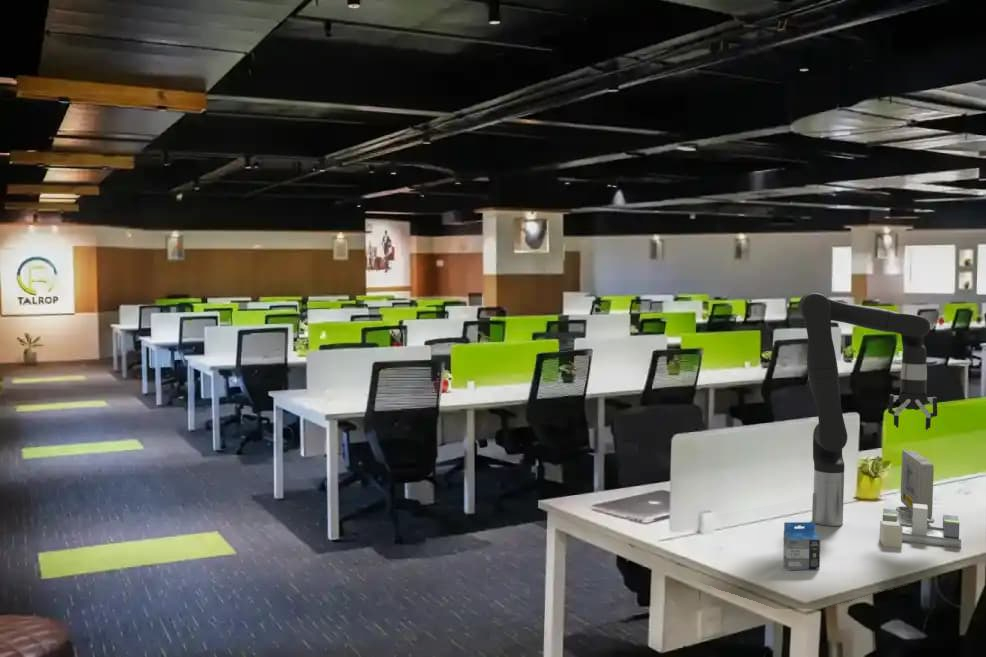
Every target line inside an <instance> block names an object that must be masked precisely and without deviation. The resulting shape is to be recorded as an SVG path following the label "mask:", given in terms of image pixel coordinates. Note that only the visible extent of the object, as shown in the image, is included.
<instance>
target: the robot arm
mask: <svg viewBox="0 0 986 657" xmlns="http://www.w3.org/2000/svg"><path fill="white" fill-rule="evenodd" d="M797 310H798V312H799V314H800V316H801V318H803V319H804V323H805V328H806V332H807V350H806V368H807V377H808V378H807V379H808V383H809V386H810V390H811V393H812V396H813V401H814V402H815V405H816V408H817V416H818V418H817V419H818V423H817V424H816V425H815V427H814V429H813V434H812V459H813V460H812V461H813V468H814V470H813V493H812V505H811V508H812V511H811V522H815V524H816V525H821V526H828V527H838V526H843V524H844V499H845V498H844V496H845V495H844V494H845V493H844V492H845V461H844V458H843V449H844V448H845V446H846V445H847V442H848V432H847V427H846V424H845V419H844V415H843V411H842V410H843V409H842V405H841V404H842V402H841V400H842V399H841V389H840V375H839V369H838V368H839V367H838V363H837V362H838V360H837V357H836V350H835V345H834V341H833V333H832V322H839V323H846V324H848V325H854V326H857V327H861V328H864V329H870V330H875V331H879V332H886V333H895V334H899V335H901V338H900V339H901V344H902V356H901V357H902V358H901V361H902V362H901V369H900V388H899V390H900V392H899V395H894V394H892V393H891V394H889V399H888V406H887V407H888V410H887V412H888V414H890V415H893V426H895V428H896V429H897V428H899V424H900V423H899V422H900V421H899V420H900V418H899V417H900V416H899V414H901V413H902V411H903V410H905V409H906V410H915V411H919V410H920V411H922V413H923V414H924V415H925V425H924V426H925V428H924V429H925V430H927V431H928V430H929V429H930V428H931V426H932V425H931V419H932V418H934V417H935V418H936V417H938V399H937V398H938V397H936V396H932V397H930V396H929V397H928V396H927V380H928V369H927V368H928V367H927V352H928V351H927V348H926V346H925V341H924V340H925V336H927V335H928V333H929V332H930V331H931V324H930V321H929V320H928V318H926V317H924V316H923V315H916V314H911V313H905V312H904V313H902V312H897V311H893V310H889V309H885V308H879V307H873V306H866V305H859V304H850V303H845V302H841V301H836V300H833V299H830V298H828V297H827V296H826V295H824V294H821V293H819V292H811V293H807V294H804V295H803V296H802V297H801V298H800V299H799V301H798V304H797ZM897 400H898V401H899V403H900V405H899V406H898V408H897V409H896V410H894V409H893V408H894V407H893V406H894V403H895V402H897ZM927 402H929V404H930V405H932V412H929V410H928V409H927V408H926V406H925V404H926V403H927Z"/></svg>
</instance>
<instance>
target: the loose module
mask: <svg viewBox="0 0 986 657" xmlns="http://www.w3.org/2000/svg"><path fill="white" fill-rule="evenodd" d="M927 514H928V508H927V505H924V504H914V503H913V516H912V517H911V519H912V521H911V522H912V523H911V524H912V534H921V535H927V526H928V523H927V520H928V519H927Z"/></svg>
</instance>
